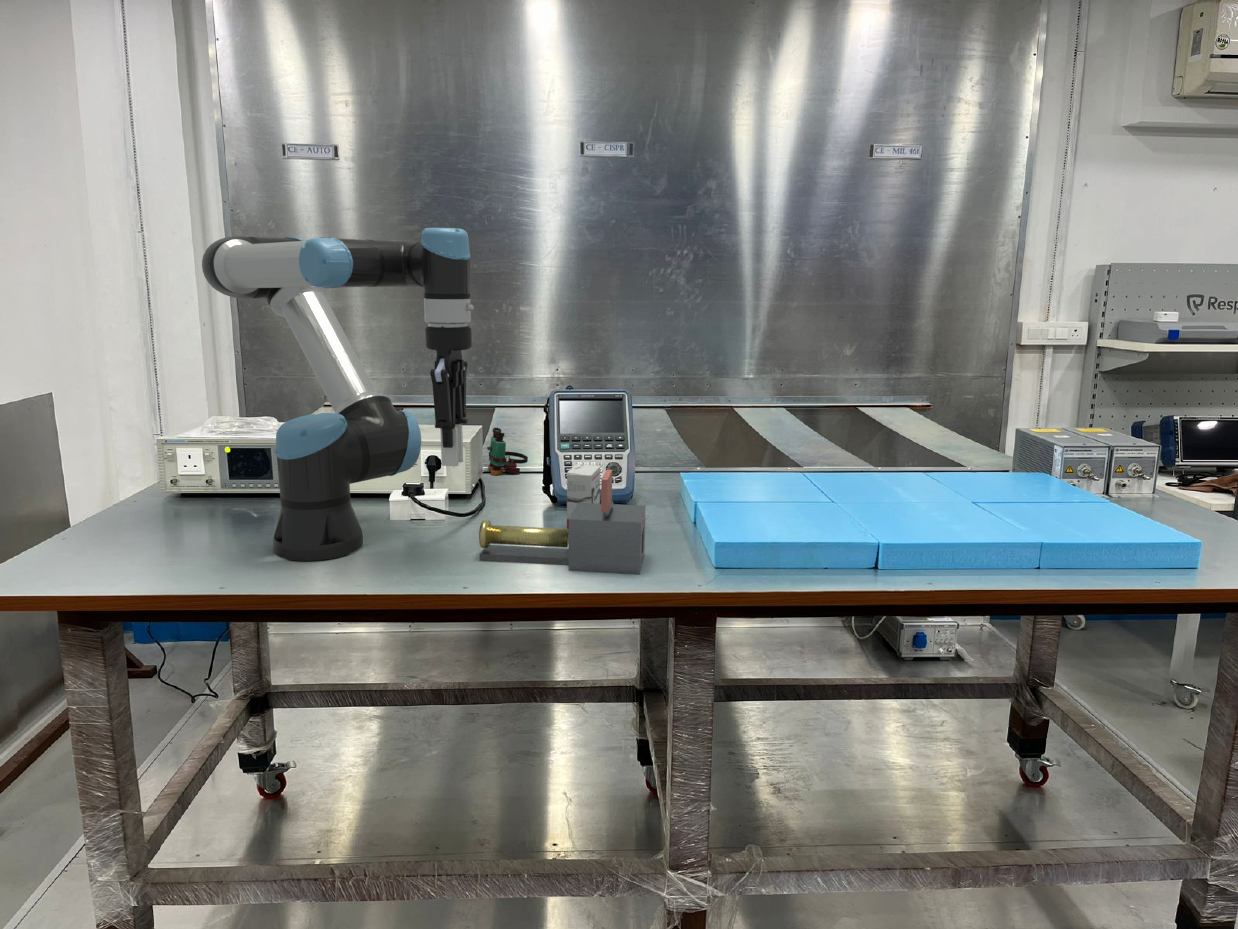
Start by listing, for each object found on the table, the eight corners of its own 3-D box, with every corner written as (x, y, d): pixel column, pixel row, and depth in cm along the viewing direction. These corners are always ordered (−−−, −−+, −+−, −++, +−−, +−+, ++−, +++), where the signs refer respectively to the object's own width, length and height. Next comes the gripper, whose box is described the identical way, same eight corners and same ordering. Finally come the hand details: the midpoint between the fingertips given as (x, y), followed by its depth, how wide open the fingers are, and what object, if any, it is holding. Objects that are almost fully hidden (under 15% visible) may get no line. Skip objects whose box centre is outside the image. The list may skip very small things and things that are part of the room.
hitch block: (475, 565, 143) (474, 514, 141) (490, 546, 153) (489, 498, 151) (639, 574, 140) (640, 522, 138) (644, 554, 150) (645, 505, 148)
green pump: (532, 435, 203) (491, 433, 200) (528, 477, 205) (487, 476, 202) (525, 428, 211) (485, 426, 208) (521, 469, 213) (482, 467, 210)
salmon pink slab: (600, 517, 140) (601, 479, 139) (606, 505, 147) (606, 469, 145) (608, 517, 140) (609, 479, 139) (613, 506, 147) (613, 469, 145)
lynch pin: (479, 551, 145) (478, 525, 144) (486, 542, 150) (485, 516, 149) (565, 556, 144) (565, 529, 143) (569, 546, 148) (569, 520, 147)
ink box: (590, 535, 160) (591, 474, 157) (565, 533, 161) (565, 473, 158) (600, 521, 168) (601, 464, 166) (576, 520, 169) (577, 463, 167)
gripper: (457, 328, 131) (461, 475, 137) (482, 322, 146) (485, 454, 151) (410, 327, 132) (416, 473, 137) (440, 321, 147) (444, 453, 152)
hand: (452, 463), depth 144 cm, fingers open, 2 cm apart
